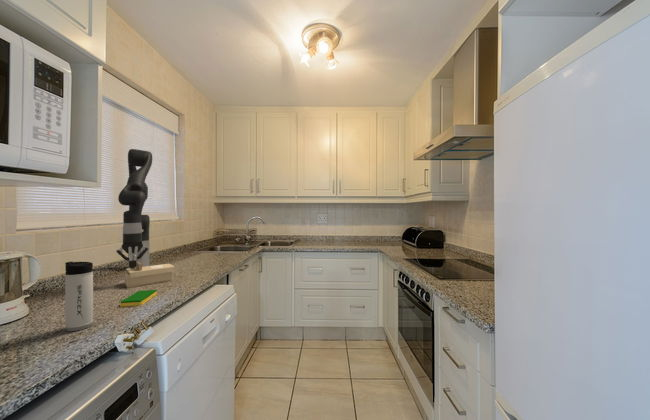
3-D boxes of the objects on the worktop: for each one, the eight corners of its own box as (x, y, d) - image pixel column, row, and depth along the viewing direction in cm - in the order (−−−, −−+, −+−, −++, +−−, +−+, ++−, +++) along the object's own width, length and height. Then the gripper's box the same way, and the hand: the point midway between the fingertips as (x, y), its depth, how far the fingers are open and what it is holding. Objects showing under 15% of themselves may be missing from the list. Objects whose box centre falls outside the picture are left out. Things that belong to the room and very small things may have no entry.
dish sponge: (119, 308, 99) (119, 301, 99) (138, 296, 112) (138, 290, 112) (141, 306, 100) (141, 300, 100) (157, 295, 114) (157, 289, 114)
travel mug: (76, 323, 84) (75, 260, 84) (98, 322, 85) (98, 259, 85) (58, 332, 78) (57, 264, 78) (82, 331, 79) (81, 263, 79)
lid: (126, 273, 131) (126, 262, 131) (169, 267, 144) (168, 257, 144) (130, 277, 123) (130, 266, 123) (174, 271, 136) (174, 260, 136)
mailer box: (124, 283, 130) (124, 271, 130) (166, 277, 143) (166, 266, 143) (127, 288, 123) (127, 275, 123) (171, 280, 135) (171, 269, 135)
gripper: (147, 231, 136) (147, 265, 136) (114, 232, 127) (114, 269, 127) (150, 232, 130) (150, 267, 130) (116, 233, 121) (116, 271, 121)
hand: (132, 268), depth 129 cm, fingers closed
